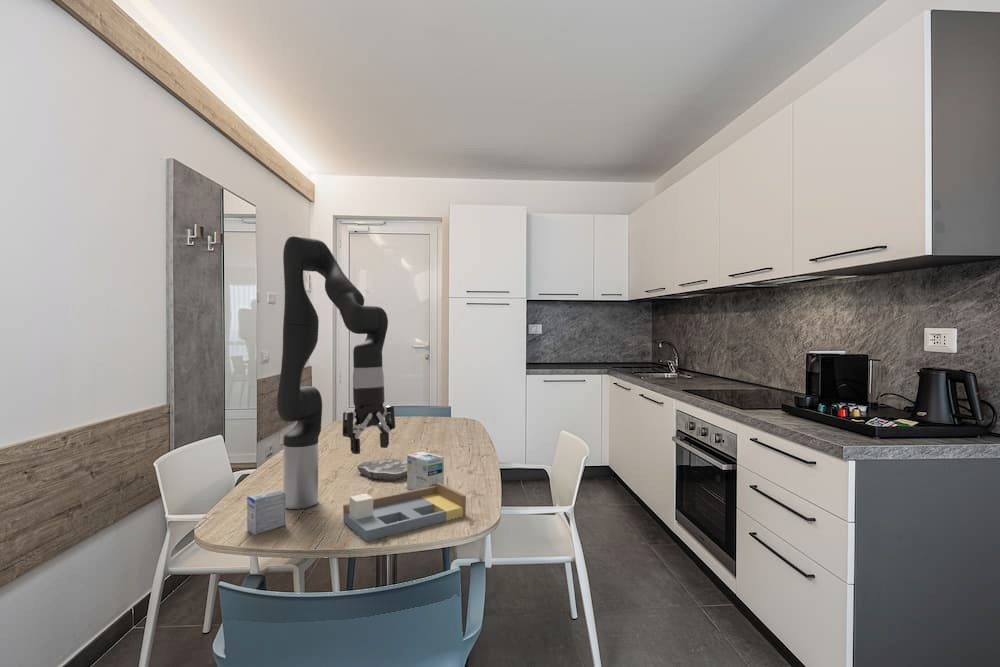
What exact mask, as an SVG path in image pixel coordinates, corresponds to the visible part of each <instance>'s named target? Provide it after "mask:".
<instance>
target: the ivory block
mask: <svg viewBox="0 0 1000 667" xmlns="http://www.w3.org/2000/svg"><path fill="white" fill-rule="evenodd" d="M348 497H349V498H348V499H349V501H348V502H349V514H350V515H351V516H352V517H354V518H355V519H361V518H365V517H369V516H373V498H374V497H372V496H371V495H369V494H368V493H362V494H356V495H351V496H348Z"/></svg>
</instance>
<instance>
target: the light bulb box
mask: <svg viewBox="0 0 1000 667" xmlns="http://www.w3.org/2000/svg"><path fill="white" fill-rule="evenodd" d="M406 461H407V477H406V488H407V489H410V490H411V491H412V490H417V489H421V488H426V487H431V486H435V482H439V483H441V484H443V485H445V457H444V456H442V455H438V454H433V453H430V452H425V451H418V452H412V453H407V454H406Z"/></svg>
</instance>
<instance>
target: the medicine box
mask: <svg viewBox="0 0 1000 667" xmlns="http://www.w3.org/2000/svg"><path fill="white" fill-rule="evenodd" d="M246 502H247V503H246V530H247V531H248V532H249V533H251V534H252V533H253V534H252V535H254V536H257V535H260V534H263V533H265V531H266V532H268V530H269V531H272V530H275V529H277V528H278V527H279V528H282V527H285V526H286V525H287V524H286V521H287V520H286V516H287V514H286V513H287V512H286V509H287V508H286V493H285V492H283V490H281V489H278V488H276V489H272V490H268V491H267V490H266V491H264V492H260V493H256V494H251V495H248V496H247V498H246ZM284 525H285V526H284ZM281 526H282V527H281ZM279 528H278V529H279ZM262 532H263V533H262ZM259 533H260V534H259Z"/></svg>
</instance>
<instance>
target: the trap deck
mask: <svg viewBox="0 0 1000 667" xmlns="http://www.w3.org/2000/svg"><path fill="white" fill-rule="evenodd" d="M466 496H467V495H466V494H464V493H461V492H460V491H458V490H455V489H454V488H451V487H449V486H447V485H445V484H444V485H443V484H441V483H439V482H435V486H431V487H426V488H421V489H417V490H412V489H411V490H407V491H403V492H398V493H393V494H388V495H383V496H379V497H378V496H377V497H372V498H373V516H369V517H365V518H361V519H355V518H354V517H352V516H351V515H350V514H349V503H345V504H343V511H342V512H343V514H342V515H343V517H342V521H344V522H345V523H346V524H347V525H346V524H345V523H344V522H343V523H344V524H345V525H346V526H348V527H349V529H351V528H352V529H353V530H354V531H353V530H352V529H351V530H352V531H353V532H355V534H357V535H358V536H359V537H360V536H361V537H360V538H361V539H363V540H364V541H365V542H369V540H370V541H374V540H377V539H382V538H386V537H390V536H393V535H396V533H397V534H401V533H404V532H405V533H406V532H408V531H413V530H416V528H417V529H419V528H420V527H421V528H423V526H424V527H428V526H432V525H437V524H439V523H443V522H444V523H445V522H448V521H451V519H452V520H455V518H456V519H458V517H460V518H464V517H466V512H467V511H466V510H467V507H466V506H467V505H466V503H467V500H466V498H467V497H466ZM397 521H398V522H397ZM431 524H432V525H431ZM427 525H428V526H427ZM421 528H420V529H421ZM412 529H413V530H412ZM400 532H401V533H400ZM392 534H393V535H392ZM385 536H386V537H385Z"/></svg>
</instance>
